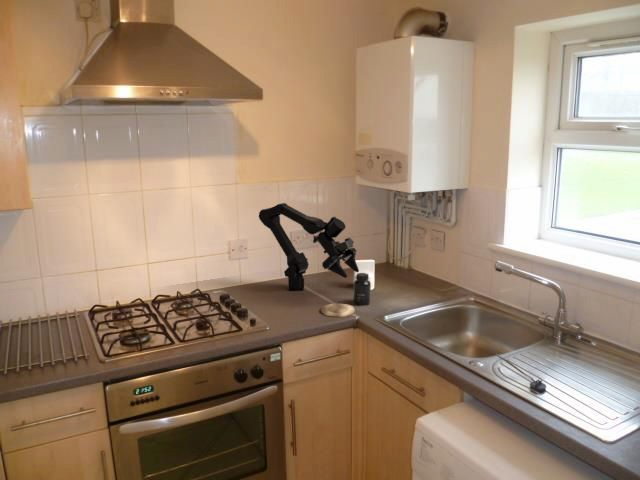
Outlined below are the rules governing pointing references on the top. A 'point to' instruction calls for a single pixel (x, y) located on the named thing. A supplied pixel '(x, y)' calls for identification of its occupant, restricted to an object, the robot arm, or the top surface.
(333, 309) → the beige round plate
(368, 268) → the cylinder with rectangular tab
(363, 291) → the supplement bottle
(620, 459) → the top surface
